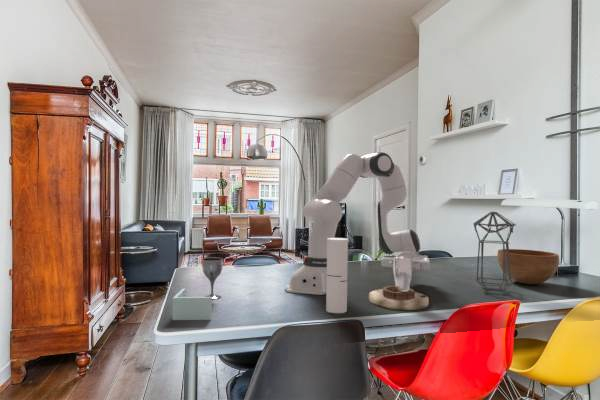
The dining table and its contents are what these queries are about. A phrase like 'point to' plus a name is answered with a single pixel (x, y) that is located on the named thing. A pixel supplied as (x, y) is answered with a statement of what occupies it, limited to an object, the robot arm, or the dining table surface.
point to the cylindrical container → (336, 275)
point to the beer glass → (402, 273)
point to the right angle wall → (191, 307)
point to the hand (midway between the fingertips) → (403, 266)
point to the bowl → (530, 265)
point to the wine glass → (212, 272)
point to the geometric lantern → (503, 251)
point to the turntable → (398, 299)
